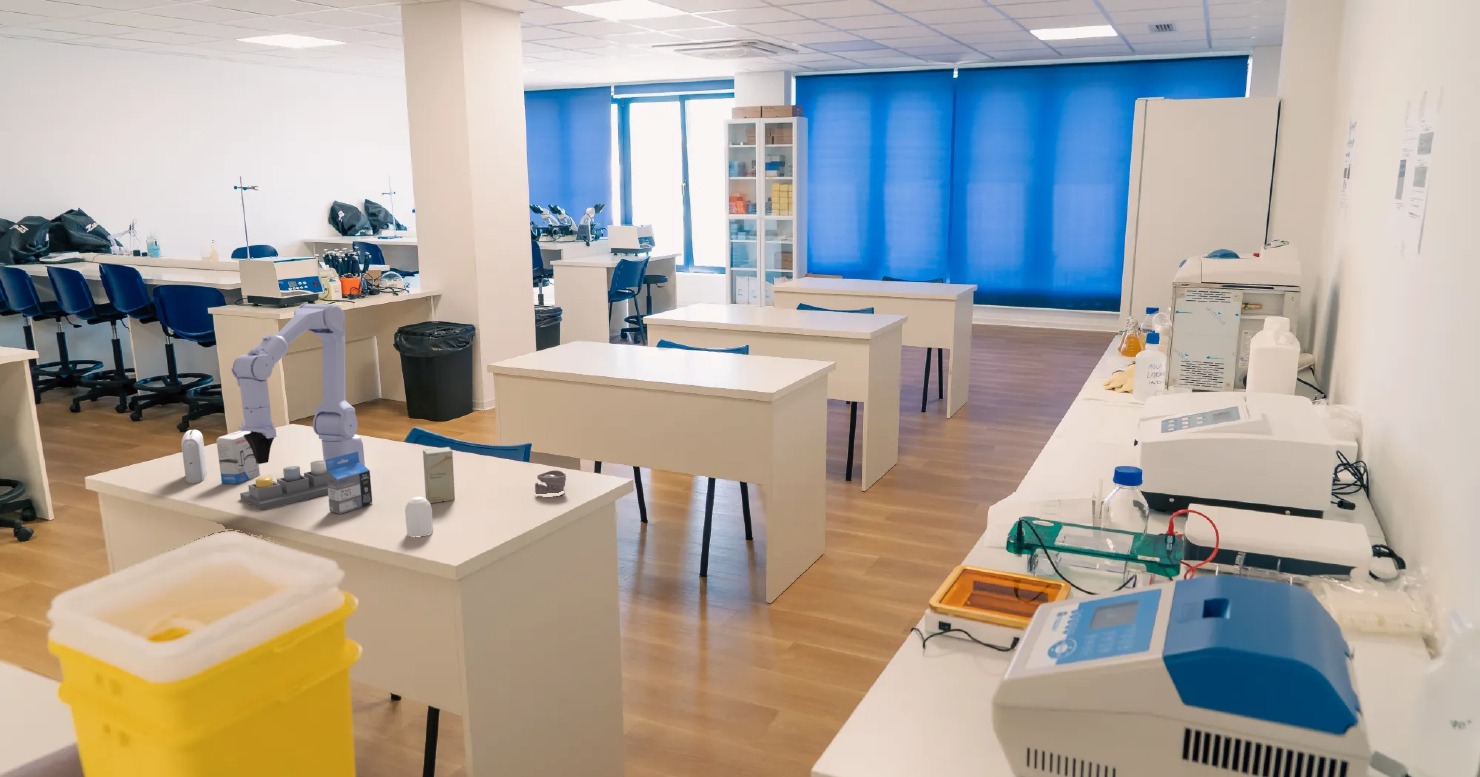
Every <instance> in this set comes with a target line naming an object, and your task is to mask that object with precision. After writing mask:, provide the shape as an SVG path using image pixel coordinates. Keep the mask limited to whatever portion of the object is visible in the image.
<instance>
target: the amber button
mask: <svg viewBox="0 0 1480 777" xmlns="http://www.w3.org/2000/svg"><path fill="white" fill-rule="evenodd" d="M273 481H274V479H273V477H271V476H264V477H263V476H262V477H258V478H256V479H255V484H256V488H258V489H260V488H265V487H269V486H273Z"/></svg>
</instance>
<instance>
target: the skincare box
mask: <svg viewBox="0 0 1480 777" xmlns="http://www.w3.org/2000/svg"><path fill="white" fill-rule="evenodd" d="M453 453H454V452H453V450H452V448H451V447H450V446H446V447H437V448H436V447H435V448H428V449H422V459H423V471H424V472H423V473H424V476H423V477H424V488H425V489H424V491H425V499H427V500H428V501H429V503H430V504H434V503H435V502H436V503H442V501H444V502H450V501H449V500H452V501H454V500H453V499H456V497H455V496H456V495H455V479H454V478H455V477H454V476H455V474H454V458H453V457H454V456H453Z"/></svg>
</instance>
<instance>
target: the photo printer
mask: <svg viewBox="0 0 1480 777" xmlns="http://www.w3.org/2000/svg"><path fill="white" fill-rule="evenodd" d="M203 435H204V434H202V432H201V431H200V430H198V429H189V430H187V431H186V432H185V433H184V434H183V436H182V438H181V452H182V460H183V466H184V476H185V481H186V483H188V484H197V483H201V482H202V481H204V479H205V478H206V475H207V470H208V469H207V459H206V450H205V443H204V436H203Z"/></svg>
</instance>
